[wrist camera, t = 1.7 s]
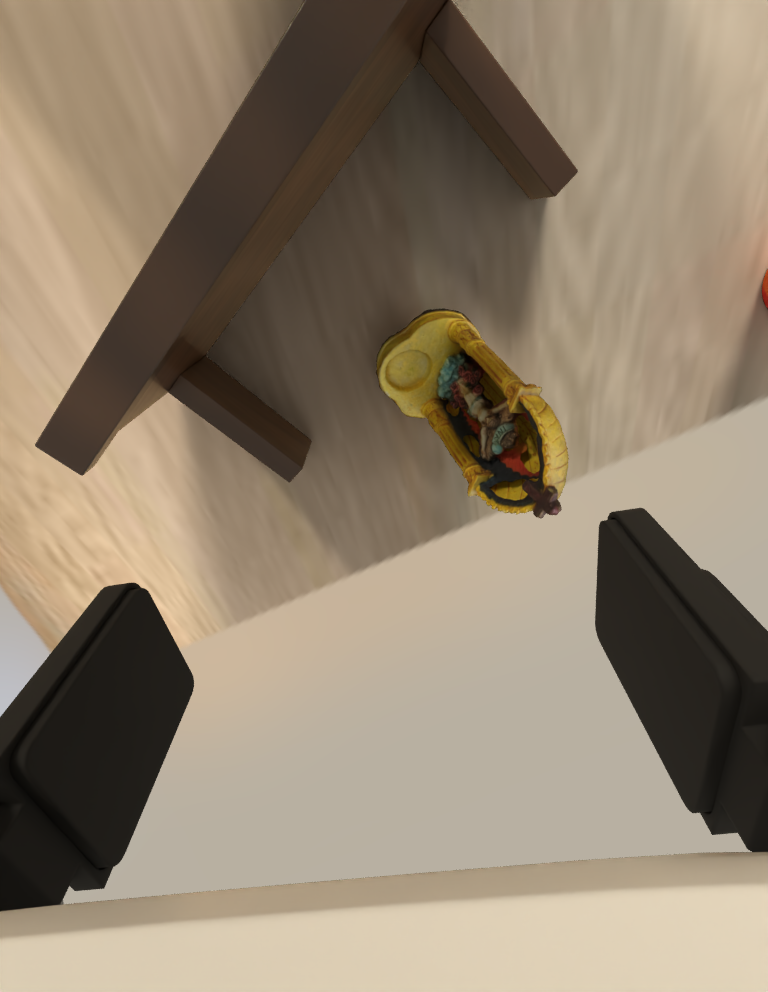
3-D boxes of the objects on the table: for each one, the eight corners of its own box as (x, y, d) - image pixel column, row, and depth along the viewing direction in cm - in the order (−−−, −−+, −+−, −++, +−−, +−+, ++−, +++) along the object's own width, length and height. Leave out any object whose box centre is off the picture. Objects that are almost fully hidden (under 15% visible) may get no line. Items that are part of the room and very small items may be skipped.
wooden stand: (426, -20, 26) (469, -275, 13) (564, 164, 30) (706, 118, 17) (163, 363, 36) (33, 446, 23) (292, 462, 40) (246, 581, 27)
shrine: (543, 370, 36) (633, 454, 23) (475, 453, 39) (520, 568, 26) (417, 278, 33) (439, 316, 20) (355, 377, 36) (338, 465, 23)
